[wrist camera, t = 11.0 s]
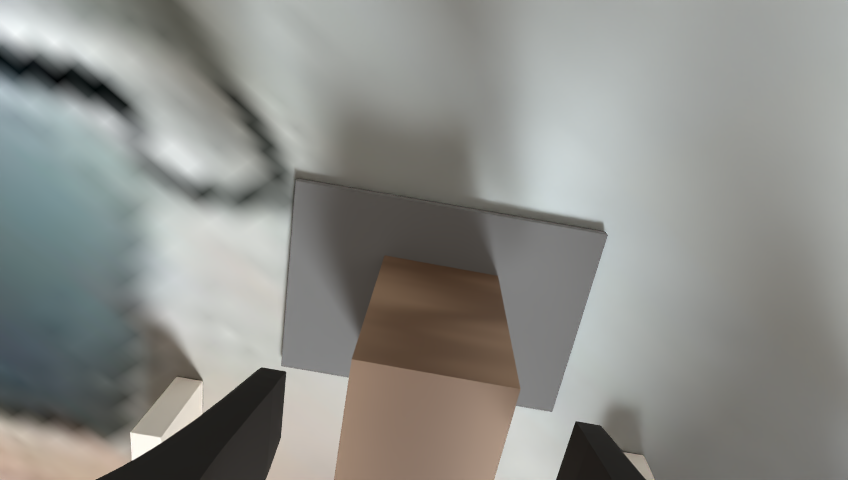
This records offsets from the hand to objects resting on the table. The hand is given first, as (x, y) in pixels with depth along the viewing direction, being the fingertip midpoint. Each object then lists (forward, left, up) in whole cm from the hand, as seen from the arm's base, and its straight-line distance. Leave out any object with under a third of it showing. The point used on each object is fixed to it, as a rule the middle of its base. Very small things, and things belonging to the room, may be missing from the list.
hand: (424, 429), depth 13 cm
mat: (0, -1, -6) cm, 6 cm away
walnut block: (0, 0, -5) cm, 5 cm away
